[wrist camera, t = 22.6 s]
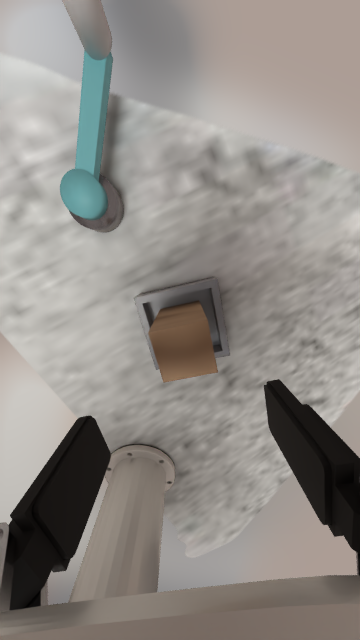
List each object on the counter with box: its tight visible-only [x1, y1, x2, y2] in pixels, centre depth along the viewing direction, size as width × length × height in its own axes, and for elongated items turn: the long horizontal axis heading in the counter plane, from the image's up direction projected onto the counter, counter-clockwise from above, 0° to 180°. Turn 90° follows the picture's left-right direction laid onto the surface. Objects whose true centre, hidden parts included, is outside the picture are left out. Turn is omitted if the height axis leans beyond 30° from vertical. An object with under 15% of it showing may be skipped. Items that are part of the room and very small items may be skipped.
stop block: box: [148, 300, 218, 382], centre depth 19 cm, size 5×5×8 cm
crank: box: [60, 0, 113, 220], centre depth 11 cm, size 13×4×8 cm, turn 164°
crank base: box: [69, 174, 124, 233], centre depth 18 cm, size 5×5×2 cm
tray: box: [134, 277, 230, 370], centre depth 22 cm, size 10×10×2 cm
